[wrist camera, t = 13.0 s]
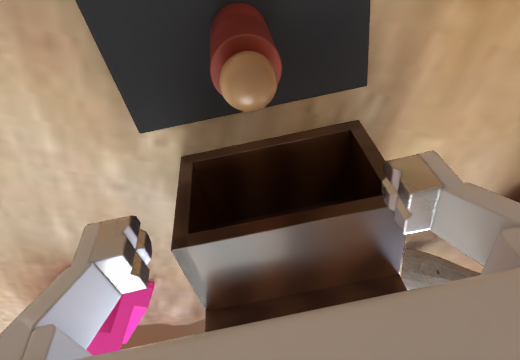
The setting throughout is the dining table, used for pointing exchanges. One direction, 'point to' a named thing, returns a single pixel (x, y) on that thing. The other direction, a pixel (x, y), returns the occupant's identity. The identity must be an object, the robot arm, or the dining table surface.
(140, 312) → the bracket
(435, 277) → the bouquet
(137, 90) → the felt mat
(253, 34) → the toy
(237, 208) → the open-top box
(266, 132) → the dining table surface
